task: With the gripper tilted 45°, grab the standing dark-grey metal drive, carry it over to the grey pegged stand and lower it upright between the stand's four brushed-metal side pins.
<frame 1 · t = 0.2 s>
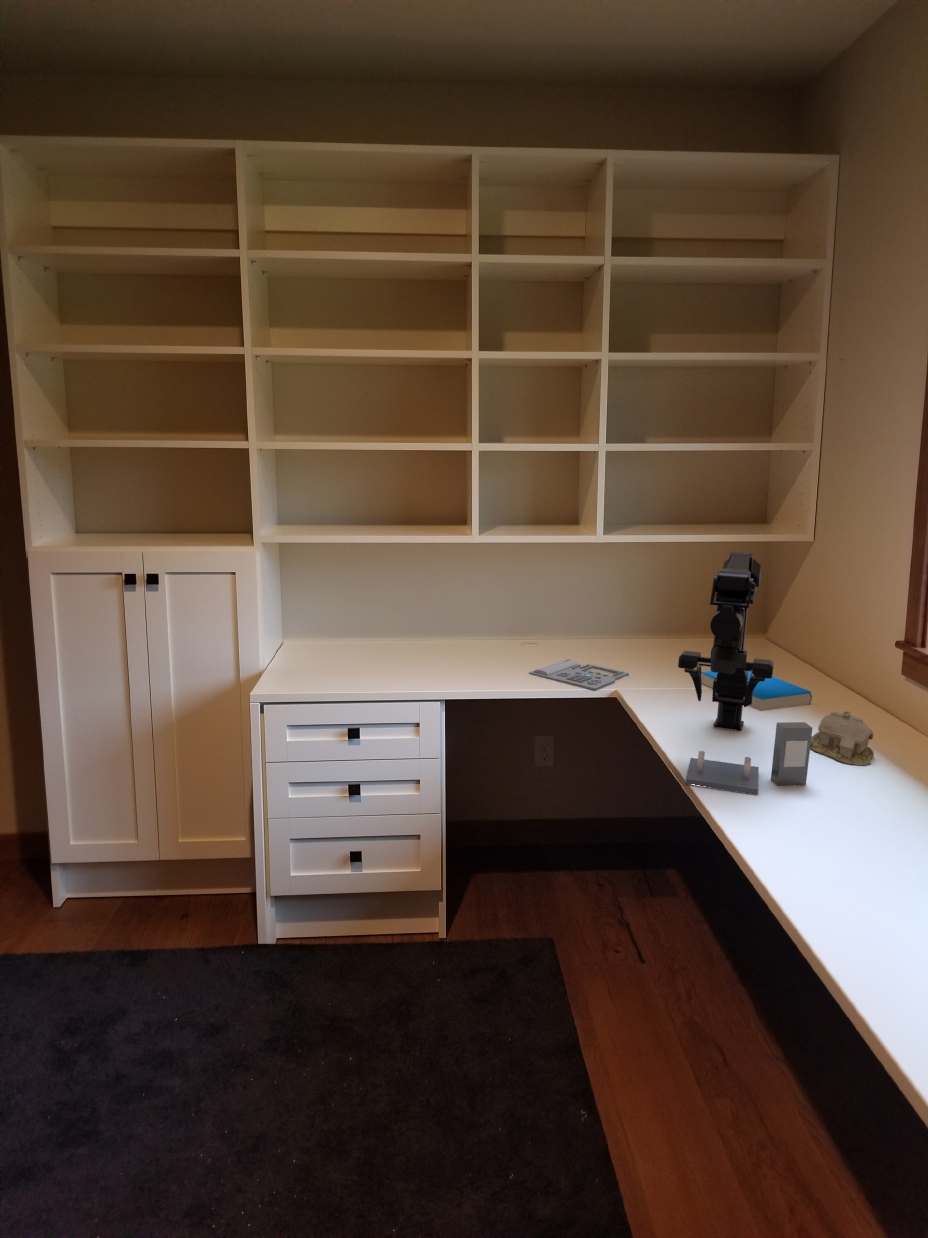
hand: (722, 703, 176), 14 cm above the table, tool pointing down, fingers open, 9 cm apart
office telephone: (580, 677, 245), on the table
ceramic model: (840, 754, 188), on the table
drive: (788, 782, 172), on the table
grey pegged stand: (722, 778, 174), on the table
book: (753, 695, 230), on the table
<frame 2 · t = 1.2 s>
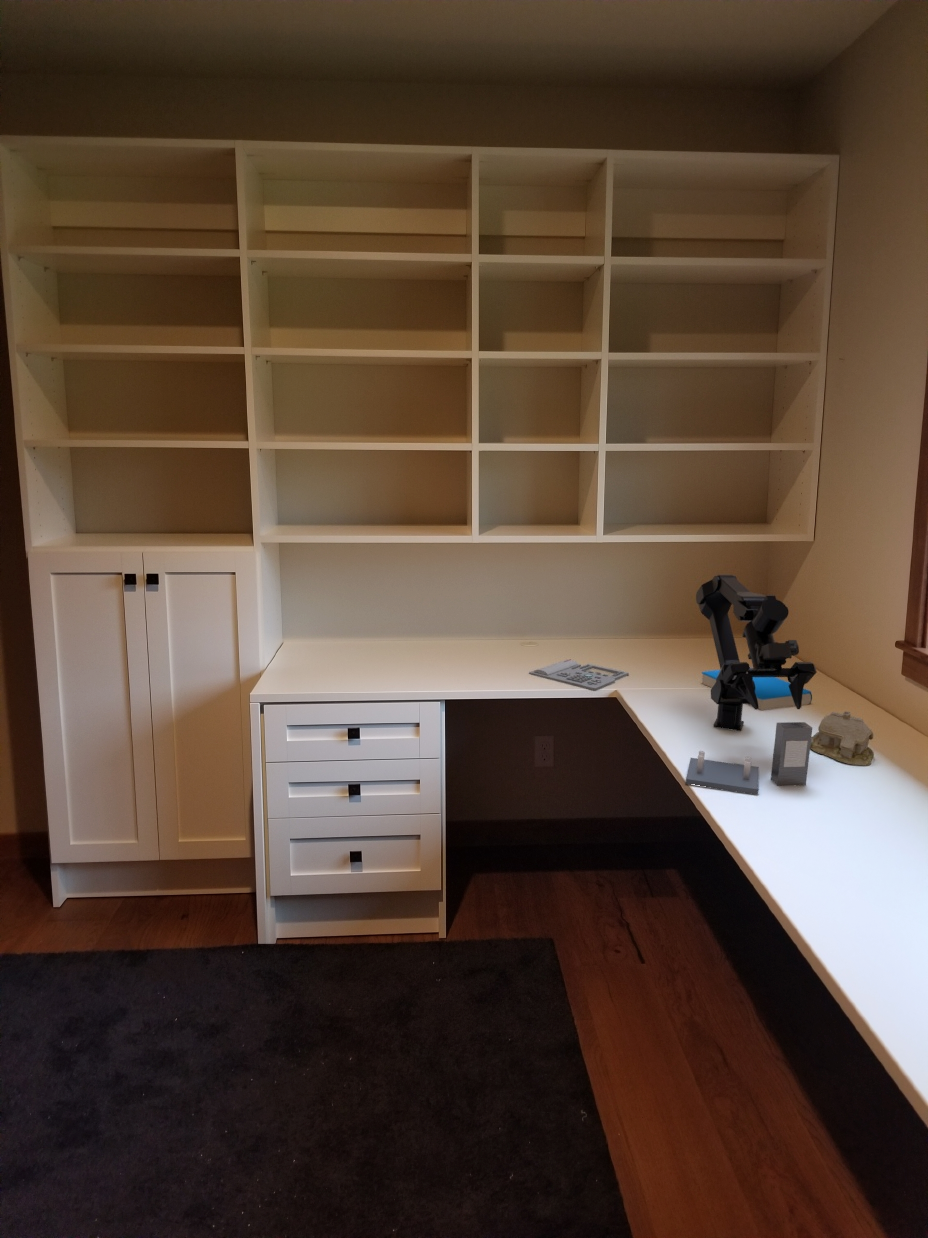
hand: (778, 708, 177), 13 cm above the table, tool tilted 45°, fingers open, 9 cm apart
nothing on the table moved.
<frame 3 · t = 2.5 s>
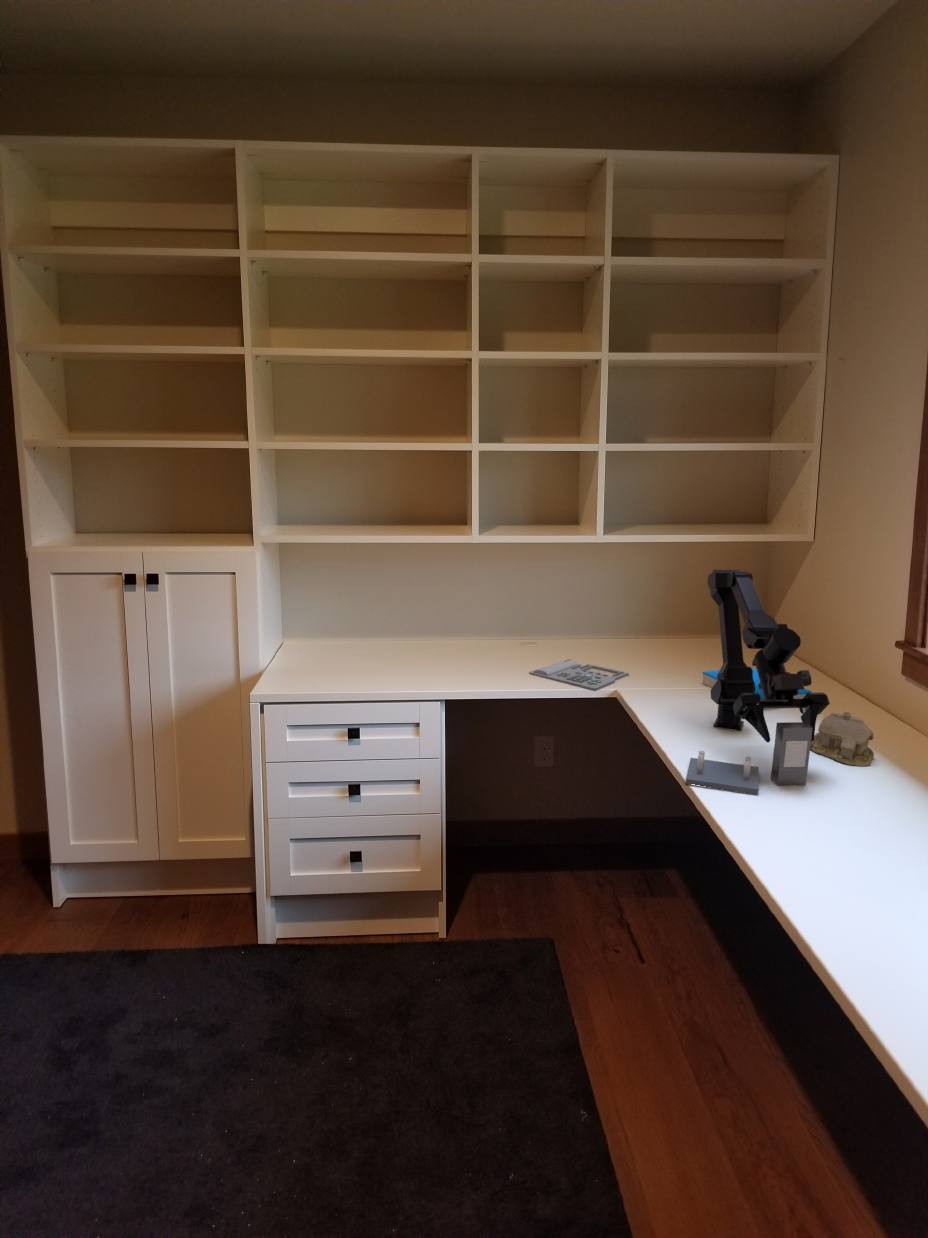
hand: (790, 741, 171), 9 cm above the table, tool tilted 45°, fingers open, 9 cm apart
nothing on the table moved.
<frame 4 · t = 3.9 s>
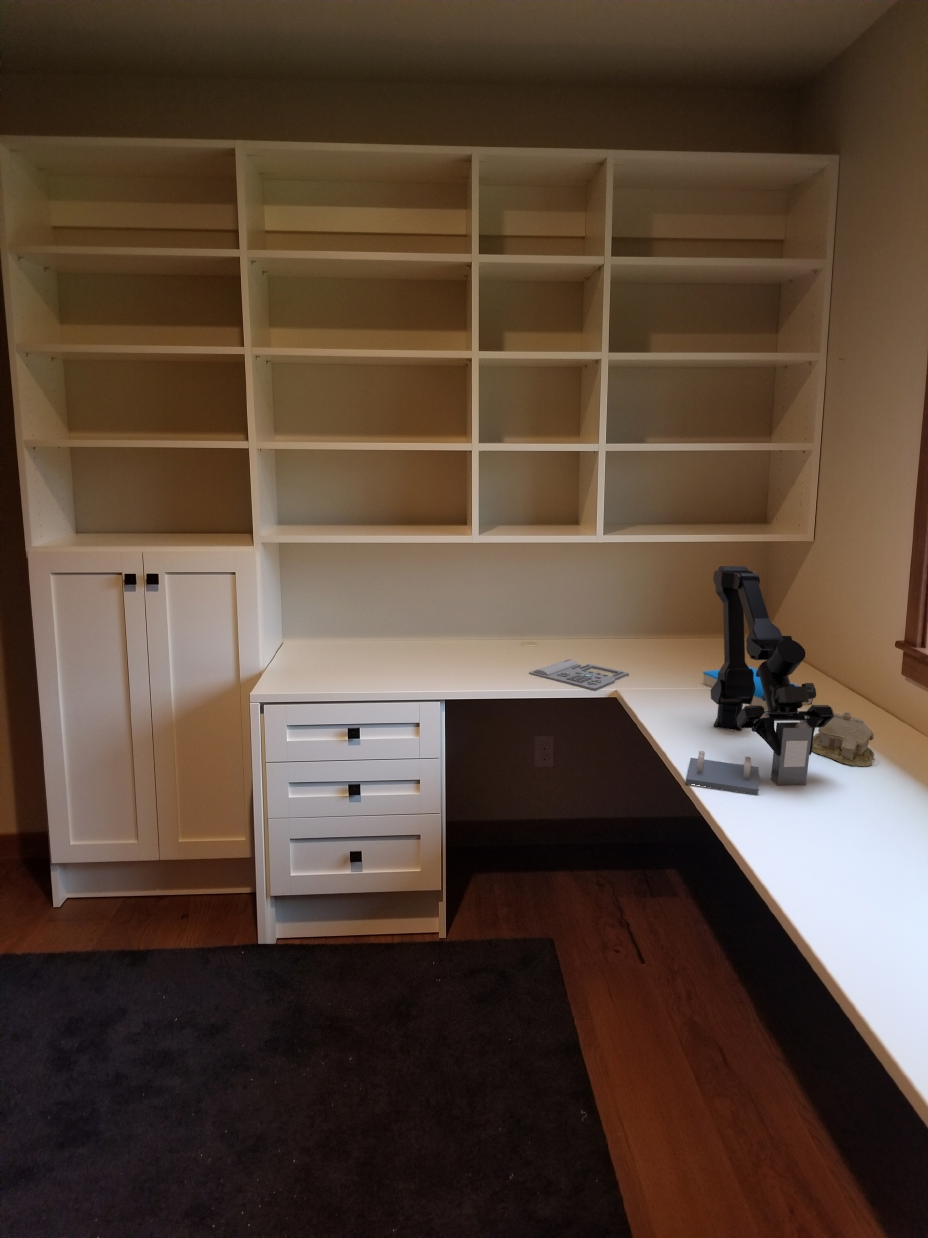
hand: (794, 754, 169), 7 cm above the table, tool tilted 45°, fingers closed on drive, 6 cm apart
drive: (788, 782, 172), on the table, touching gripper
everything else where it was.
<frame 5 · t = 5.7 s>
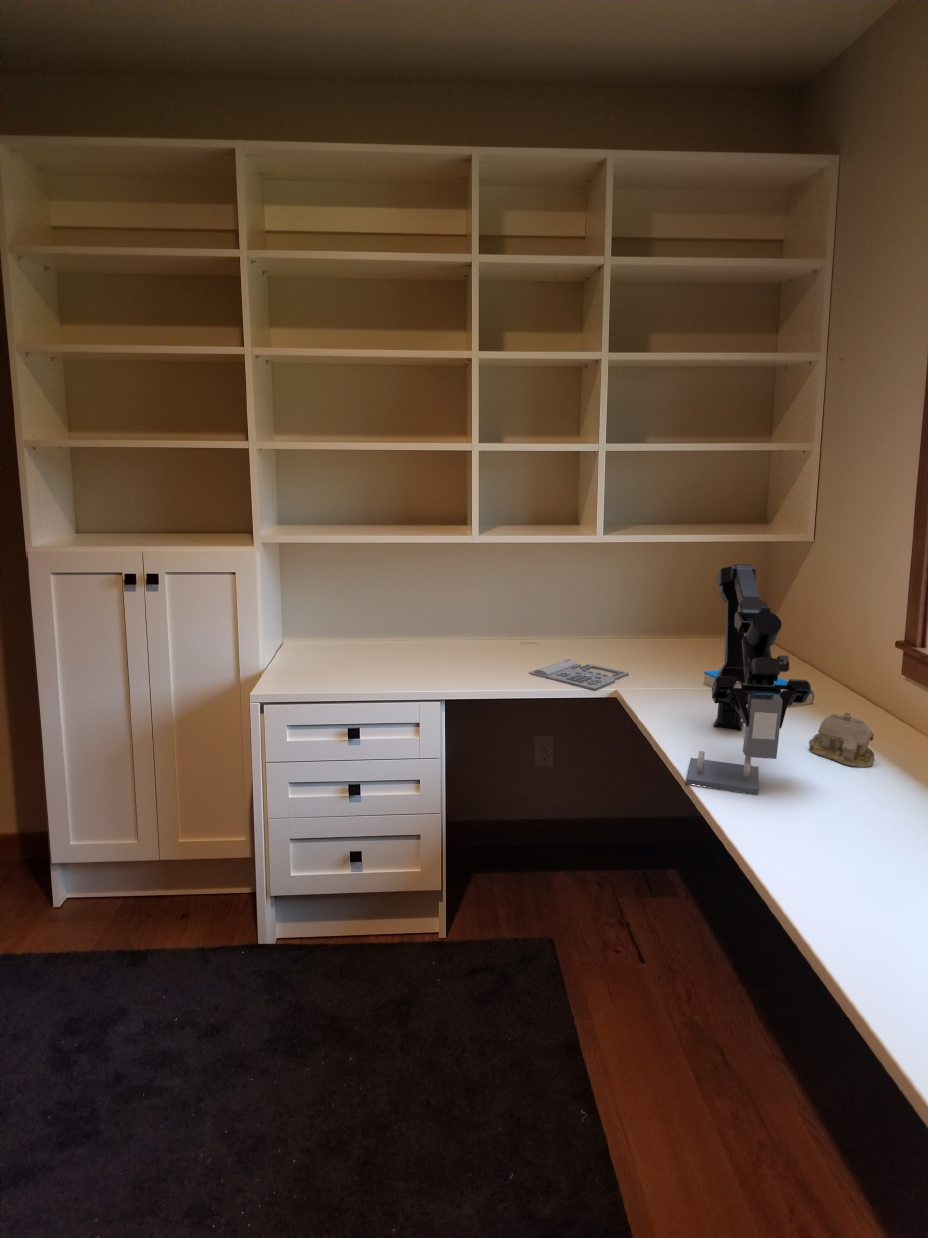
hand: (763, 727, 168), 12 cm above the table, tool tilted 45°, fingers closed on drive, 6 cm apart
drive: (759, 755, 171), point 6 cm above the table, touching gripper
when the fingers open (9 cm above the table, at t = 7.5 s): drive drops 1 cm, resting on grey pegged stand.
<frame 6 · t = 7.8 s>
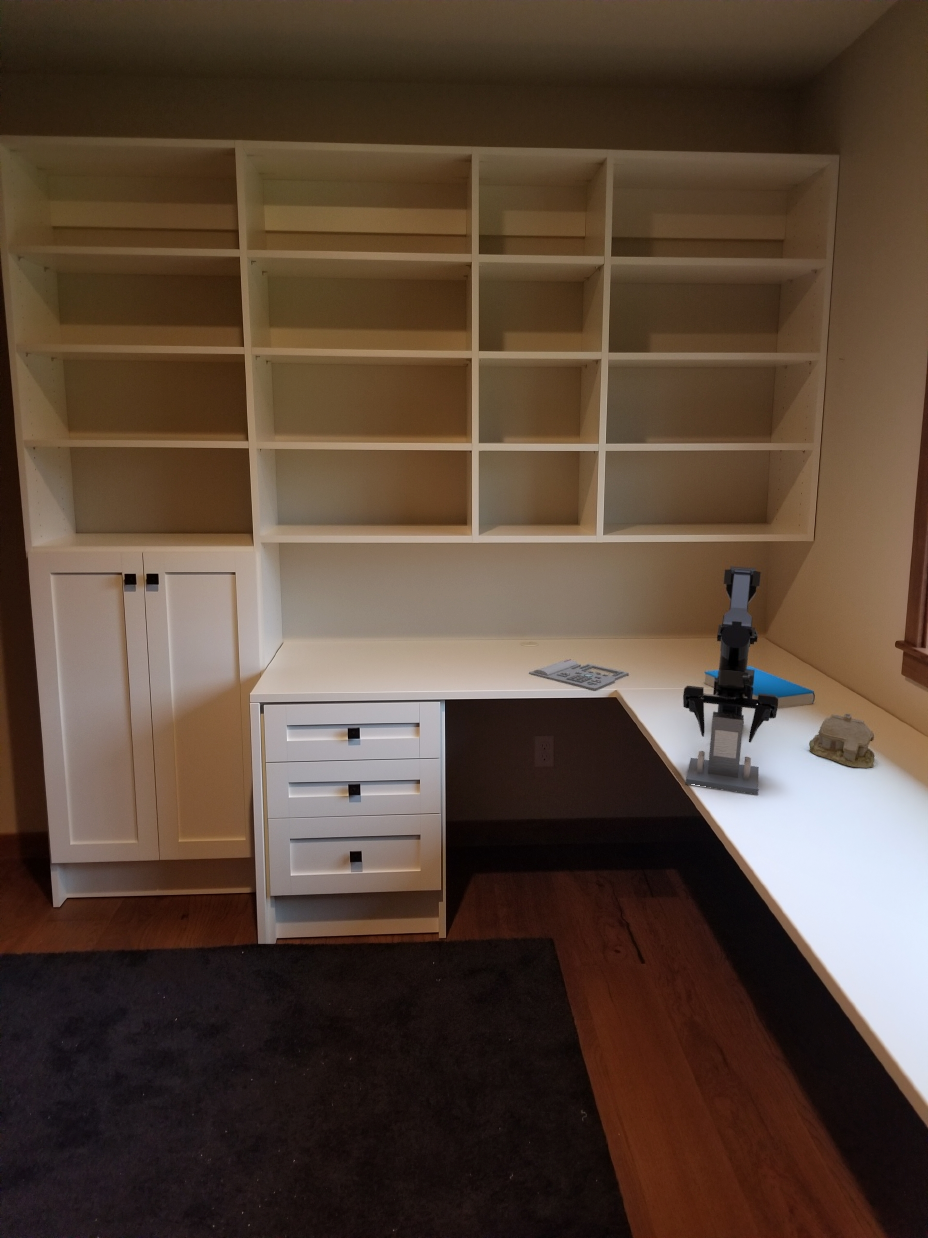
hand: (726, 738, 170), 9 cm above the table, tool tilted 45°, fingers open, 9 cm apart
drive: (723, 772, 174), point 1 cm above the table, touching grey pegged stand
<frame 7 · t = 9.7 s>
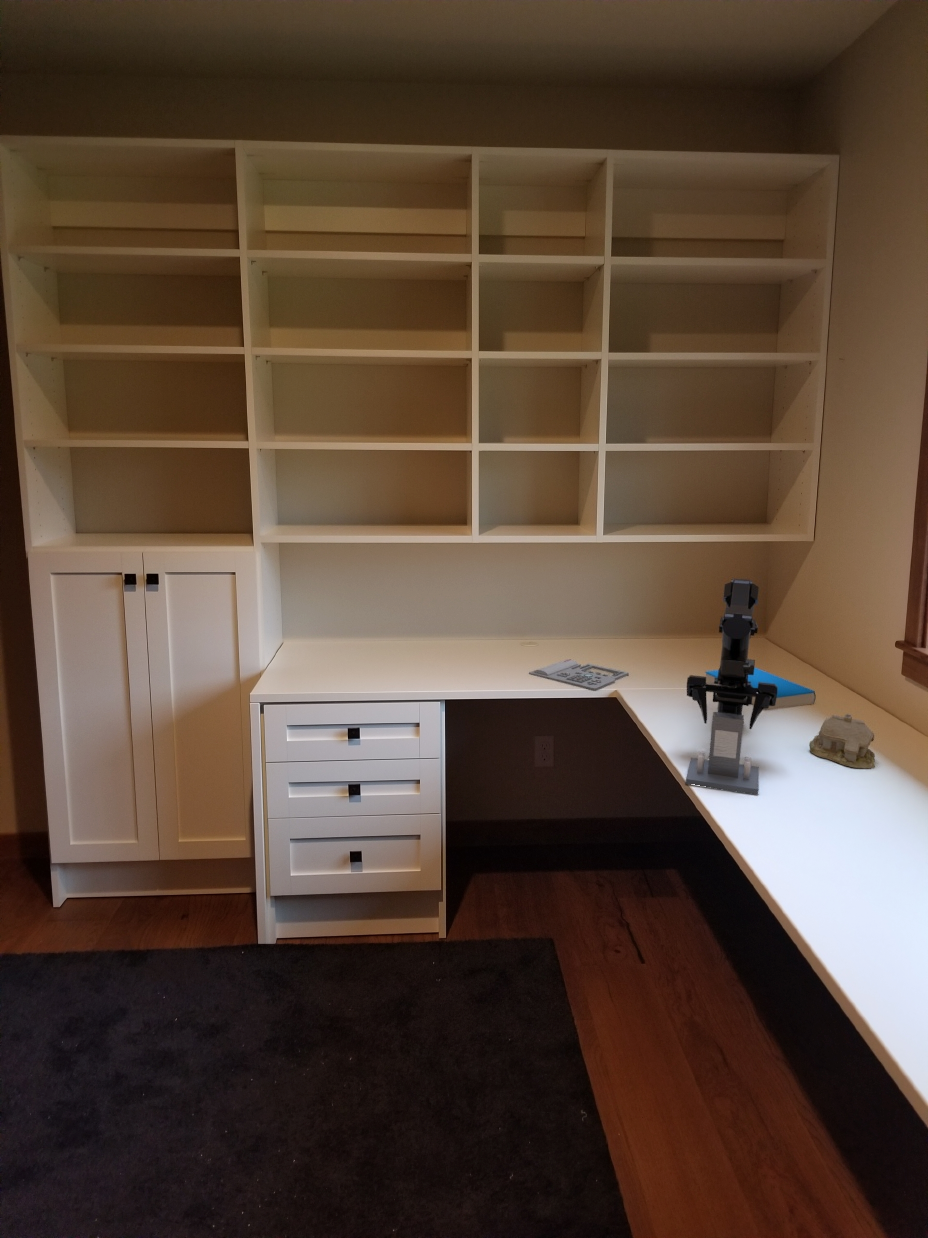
hand: (727, 725, 179), 9 cm above the table, tool tilted 45°, fingers open, 9 cm apart
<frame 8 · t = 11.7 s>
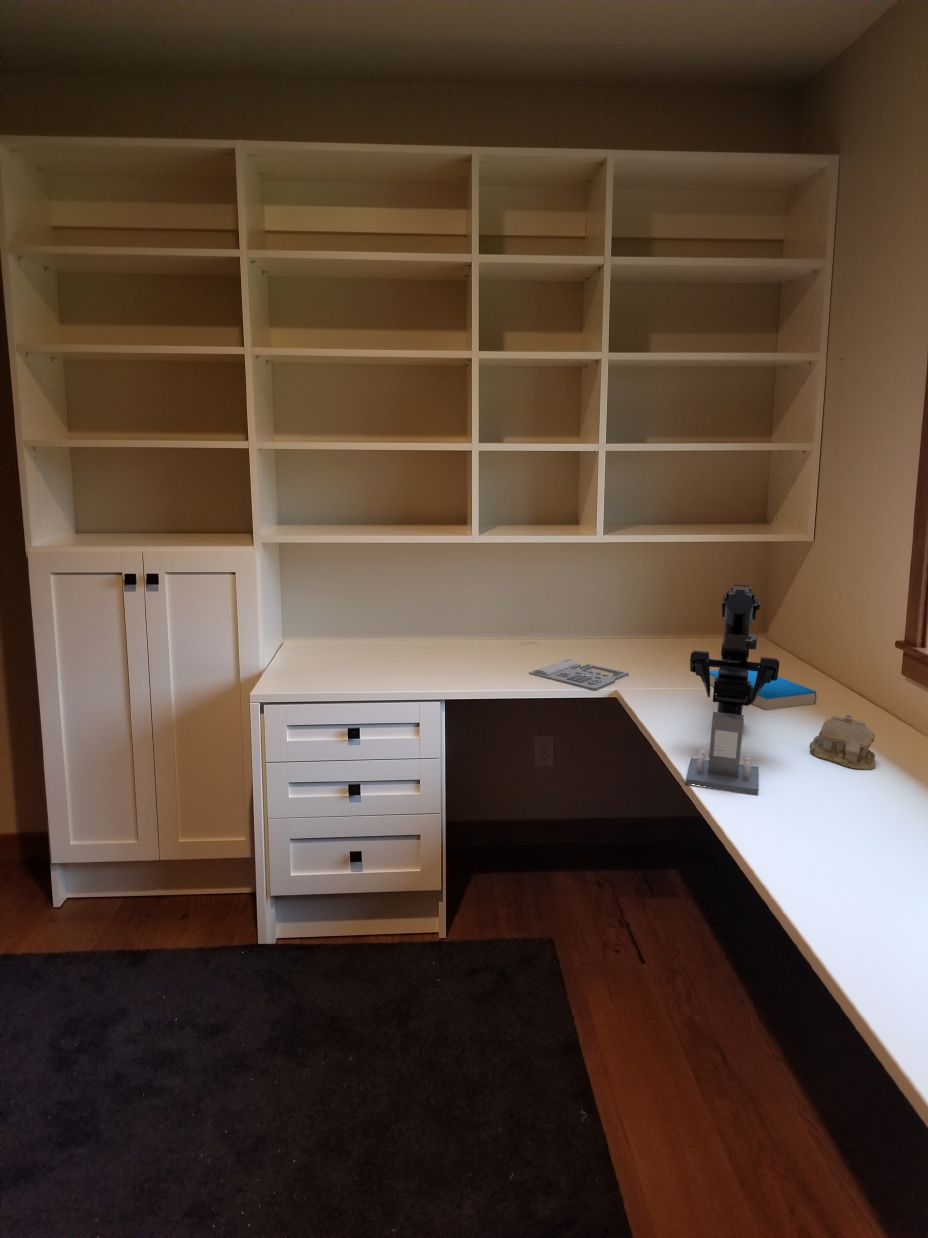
hand: (730, 699, 182), 14 cm above the table, tool tilted 45°, fingers open, 9 cm apart
at the end: drive 0.0 cm off-centre on the grey pegged stand, point 1.2 cm above the grey pegged stand's base; drive tilted 0°; the gripper is holding nothing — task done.
